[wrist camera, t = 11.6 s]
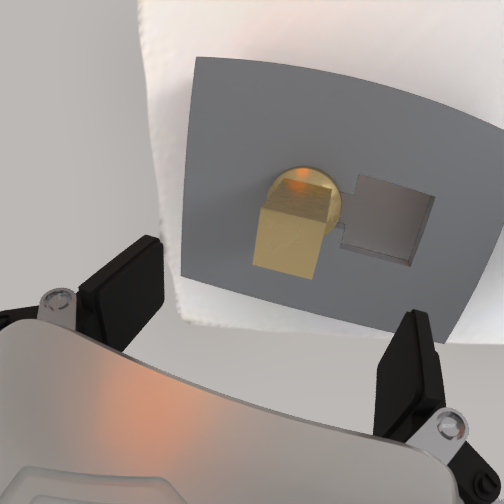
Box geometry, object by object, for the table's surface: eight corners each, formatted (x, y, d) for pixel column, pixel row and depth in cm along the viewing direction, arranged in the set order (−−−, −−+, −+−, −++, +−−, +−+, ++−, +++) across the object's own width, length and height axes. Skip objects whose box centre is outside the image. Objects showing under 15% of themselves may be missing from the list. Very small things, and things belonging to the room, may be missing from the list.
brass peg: (348, 160, 25) (349, 210, 14) (335, 215, 28) (324, 298, 17) (289, 146, 26) (245, 186, 15) (280, 202, 28) (234, 274, 18)
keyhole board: (491, 130, 21) (528, 142, 15) (431, 298, 30) (444, 344, 24) (229, 63, 25) (196, 56, 19) (210, 242, 34) (180, 276, 28)
